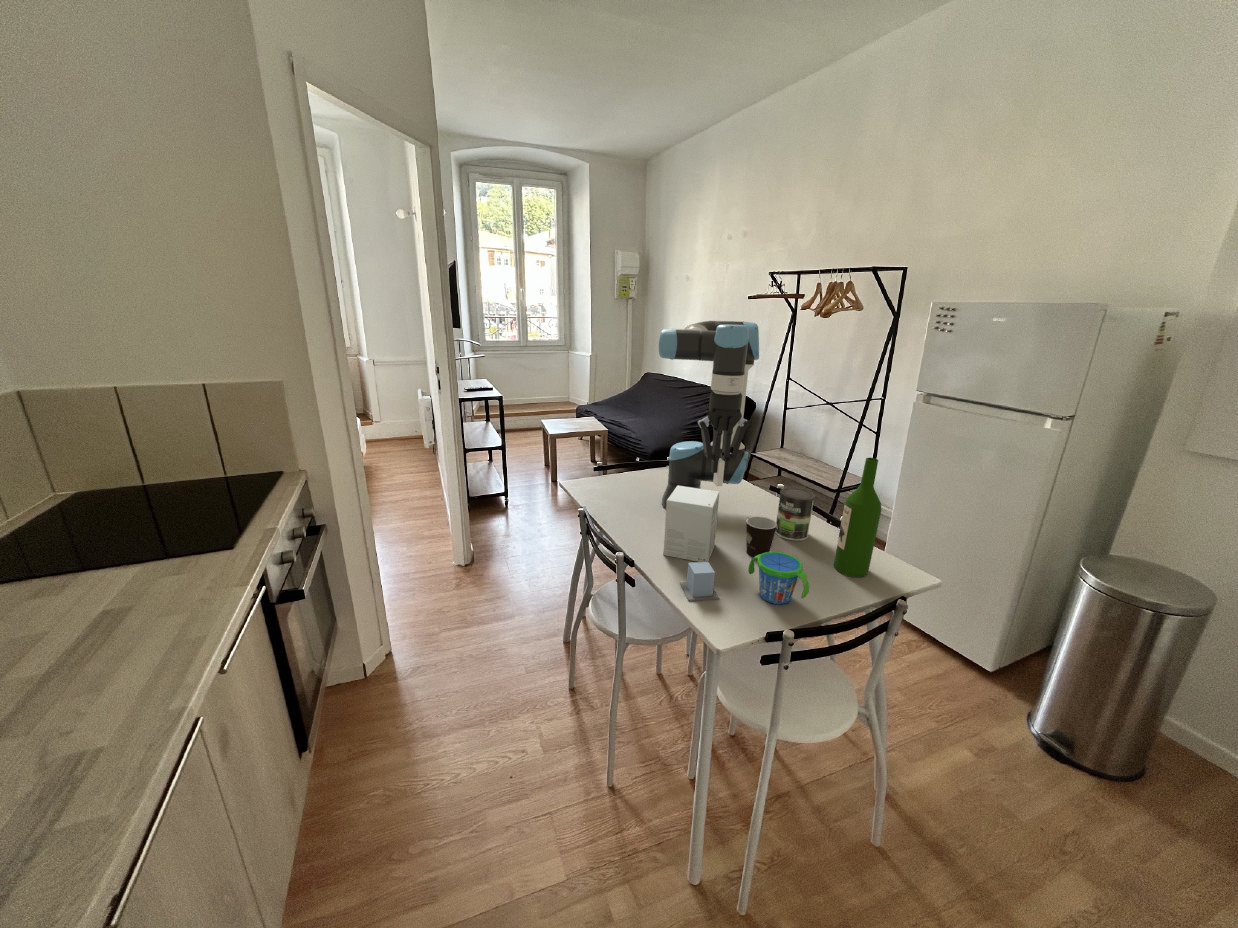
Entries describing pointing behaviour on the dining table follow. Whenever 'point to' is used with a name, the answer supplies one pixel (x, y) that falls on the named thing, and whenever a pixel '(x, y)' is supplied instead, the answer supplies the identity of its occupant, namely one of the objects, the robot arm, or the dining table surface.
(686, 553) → the supplement box
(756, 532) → the coffee mug
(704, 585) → the light blue block
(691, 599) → the grey square base
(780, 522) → the coffee can
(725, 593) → the dining table surface
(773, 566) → the snack cup
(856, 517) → the wine bottle
